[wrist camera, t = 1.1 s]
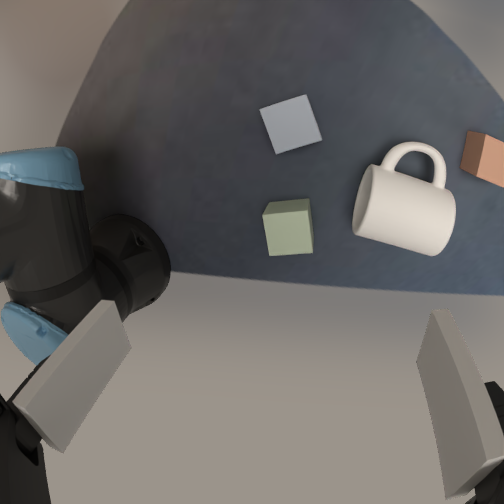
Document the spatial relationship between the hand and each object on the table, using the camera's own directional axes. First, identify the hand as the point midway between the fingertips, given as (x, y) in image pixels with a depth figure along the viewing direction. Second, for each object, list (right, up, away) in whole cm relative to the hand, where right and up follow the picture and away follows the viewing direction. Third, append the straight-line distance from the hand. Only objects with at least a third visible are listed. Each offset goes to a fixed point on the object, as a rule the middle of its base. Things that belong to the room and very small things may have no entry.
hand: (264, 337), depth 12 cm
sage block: (+5, +7, +27) cm, 29 cm away
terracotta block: (+28, +15, +18) cm, 37 cm away
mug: (+17, +11, +23) cm, 31 cm away
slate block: (+4, +18, +22) cm, 29 cm away
